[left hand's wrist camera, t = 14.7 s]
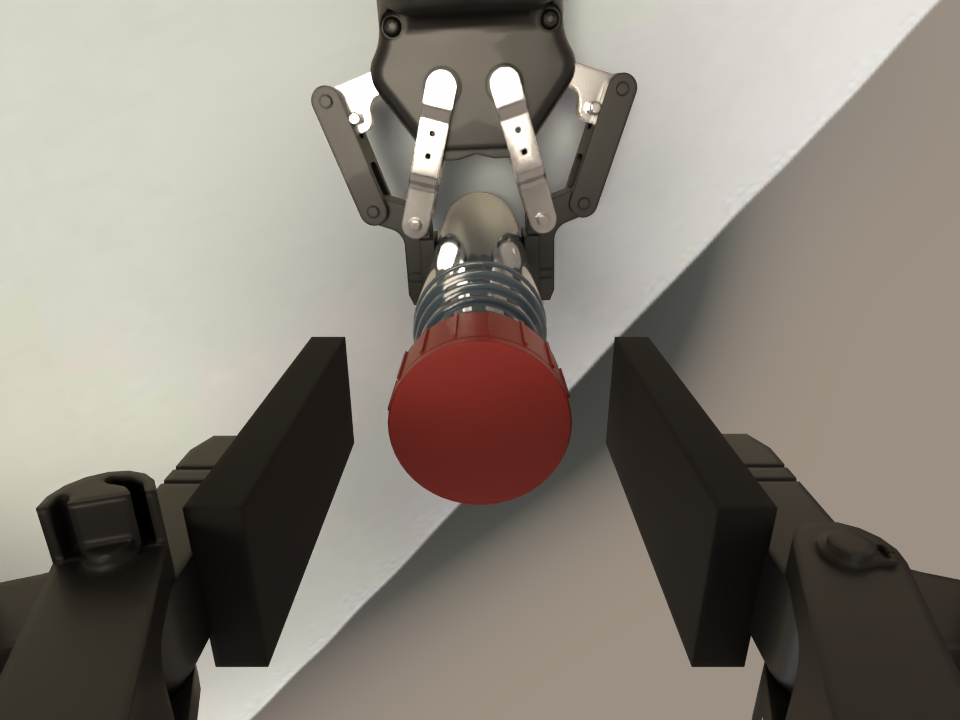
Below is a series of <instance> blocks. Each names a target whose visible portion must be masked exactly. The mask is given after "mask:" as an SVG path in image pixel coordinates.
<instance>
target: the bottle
mask: <svg viewBox="0 0 960 720" xmlns="http://www.w3.org/2000/svg"><path fill="white" fill-rule="evenodd" d="M488 311H492V313H495V314H499V315H503V316H507V317H510V318H512V319H515V320H517V321H519V322H520V321H523V322H524V325H526V326H527V327H529V328H530V329H532V330H533V331H534V332H535V333H536V334H538V335H539V336H540V337H541V338H542V339H543V341H544V342H545V341H546V315H545V310H544V306H543V303H542V300H541V297H540V294H539V291H538V288H537V285H536V282H535V279H534V276H533V272H532V269H531V266H530V263H529V260H528V257H527V254H526V251H525V248H524V245H523V242H522V239H521V236H520V233H519V230H518V227H517V224H516V221H515V218H514V215H513V213H512V211H511V209H510V208H509V206H508V205H507V204H506V203H505V202H504V201H503V200H502V199H500V198H499V197H497V196H495V195H493V194H490V193H485V192H475V193H470V194H467V195H465V196H463V197H461V198H460V199H458V200H457V201H456V202H455V203H454V204H453V205H452V206H451V208H450V209H449V211H448V213H447V215H446V218H445V221H444V224H443V227H442V230H441V233H440V236H439V239H438V242H437V245H436V248H435V251H434V254H433V257H432V260H431V263H430V266H429V269H428V272H427V275H426V278H425V281H424V284H423V287H422V290H421V293H420V296H419V299H418V302H417V305H416V309H415V314H414V328H413V337H414V343H415V341H416V340H417V339H418V338H419V337H420V336H421V335H422V334H423V333H424V330H425V329H426V328H428V329H429V328H431V327H432V326H434V325H435V324H437V323H439V322H441V321H443V320H445V319H448V318H450V317H453V316H454V314H456V313H458V315H460V314H465V313H472V312H486V313H488Z"/></svg>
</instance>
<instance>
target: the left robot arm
mask: <svg viewBox="0 0 960 720" xmlns="http://www.w3.org/2000/svg"><path fill="white" fill-rule="evenodd" d="M353 444H354V435H353V424H352V412H351V400H350V388H349V377H348V365H347V353H346V341H345V337H311V339H310V340H309V341H308V343H307V344H306V345H305V347H304V348H303V349H302V351H301V352H300V353H299V355H298V356H297V357H296V359H295V360H294V361H293V362H292V364H291V365H290V366H289V368H288V369H287V370H286V372H285V373H284V374H283V376H282V377H281V378H280V380H279V381H278V382H277V384H276V385H275V386H274V388H273V389H272V390H271V392H270V393H269V394H268V395H267V397H266V398H265V399H264V401H263V402H262V403H261V405H260V406H259V407H258V409H257V410H256V411H255V413H254V414H253V415H252V417H251V418H250V419H249V421H248V422H247V423H246V425H245V426H244V427H243V428H242V430H241V431H240V432H239V434H238V435H237V436H213V437H211V438H209V439H208V440H206V441H204V442H203V443H201V444H200V445H198V446H196V447H195V448H193V449H191V450H190V451H189V452H188V453H187V454H186V456H185V457H184V458H183V459H182V460H181V461H180V463H179V464H178V465H177V466H176V470H173V471H172V472H171V473H170V474H169V475H168V476H167V478H166V479H165V480H164V484H161V485H160V486H159V487H158V488H157V489H156V486H155V481H154V480H153V479H152V478H150V477H149V476H148V475H146V474H144V473H139V472H133V471H117V472H107V473H102V474H98V475H93V476H89V477H86V478H83V479H80V480H78V481H75V482H73V483H70V484H68V485H65V486H64V487H62V488H60V489H59V490H57V491H55V492H54V493H52V494H50V495H49V496H47V497H46V498H45V499H44V500H43V502H42V503H41V504H40V505H39V506H38V507H37V508H36V511H37V514H38V517H39V520H40V523H41V527H42V530H43V533H44V536H45V539H46V542H47V546H48V549H49V552H50V555H51V558H52V562H53V565H52V567H51V569H50V571H49V572H48V573H44V574H41V575H36V576H31V577H26V578H21V579H16V580H11V581H6V582H1V583H0V720H197V717H198V708H199V699H200V690H201V688H200V682H199V676H198V671H197V667H196V662H197V660H198V659H199V657H200V655H201V653H202V651H203V649H204V647H205V645H206V643H207V641H208V639H209V637H210V642H211V647H212V651H213V656H214V661H215V666H216V667H268V666H269V663H270V661H271V658H272V656H273V653H274V650H275V648H276V645H277V642H278V640H279V637H280V635H281V632H282V629H283V627H284V624H285V622H286V619H287V616H288V614H289V611H290V609H291V606H292V603H293V601H294V598H295V596H296V593H297V590H298V588H299V585H300V583H301V580H302V577H303V575H304V572H305V570H306V567H307V564H308V562H309V559H310V557H311V554H312V551H313V549H314V546H315V543H316V541H317V538H318V536H319V533H320V530H321V528H322V525H323V523H324V520H325V517H326V515H327V512H328V510H329V507H330V504H331V502H332V499H333V497H334V494H335V491H336V489H337V486H338V484H339V481H340V478H341V476H342V473H343V471H344V468H345V465H346V463H347V460H348V458H349V455H350V452H351V450H352V447H353ZM606 444H607V447H608V450H609V452H610V455H611V457H612V460H613V463H614V465H615V468H616V470H617V473H618V476H619V478H620V481H621V484H622V486H623V489H624V491H625V494H626V497H627V499H628V502H629V504H630V507H631V510H632V512H633V515H634V517H635V520H636V523H637V525H638V528H639V530H640V533H641V536H642V538H643V541H644V543H645V546H646V549H647V551H648V554H649V557H650V559H651V562H652V564H653V567H654V570H655V572H656V575H657V577H658V580H659V583H660V585H661V588H662V590H663V593H664V595H665V598H666V601H667V603H668V606H669V609H670V611H671V614H672V616H673V619H674V622H675V624H676V627H677V629H678V632H679V635H680V637H681V640H682V642H683V645H684V648H685V650H686V653H687V656H688V658H689V661H690V663H691V666H692V667H744V666H745V661H746V656H747V651H748V647H749V642H750V637H751V636H752V638H753V640H754V642H755V644H756V646H757V648H758V649H759V651H760V653H761V655H762V657H763V659H764V661H765V662H764V667H763V671H762V676H761V680H760V684H759V689H758V693H757V698H756V702H755V707H754V711H753V716H752V720H762V717H763V720H960V580H958V579H953V578H948V577H943V576H938V575H933V574H928V573H923V572H918V571H915V570H911V569H910V568H909V566H908V564H907V562H906V561H905V559H904V558H903V557H902V556H901V554H900V553H899V552H898V551H897V549H895V548H894V547H892V546H891V545H890V544H888V543H887V542H886V541H884V540H883V539H881V538H880V537H878V536H876V535H873V534H871V533H869V532H867V531H865V530H862V529H860V528H857V527H853V526H849V525H845V524H842V523H838V522H834V521H833V520H832V518H831V517H830V516H829V515H828V514H827V513H826V512H825V510H824V509H823V508H822V507H821V506H820V505H819V504H818V502H817V501H816V500H815V499H814V498H813V497H812V496H811V494H810V493H809V492H808V491H807V490H806V489H805V488H804V486H803V485H802V484H801V483H800V482H797V481H796V477H795V476H794V475H793V474H792V473H791V471H790V470H789V469H788V468H785V467H784V463H783V462H782V461H781V460H780V459H779V458H778V457H777V455H776V454H775V453H774V452H773V451H772V450H771V448H769V447H768V446H766V445H764V444H763V443H761V442H759V441H758V440H756V439H754V438H752V437H751V436H749V435H748V434H721V432H720V431H719V430H718V428H717V427H716V426H715V425H714V423H713V422H712V421H711V419H710V418H709V417H708V415H707V414H706V413H705V411H704V410H703V409H702V407H701V406H700V405H699V403H698V402H697V401H696V399H695V398H694V397H693V395H692V394H691V393H690V392H689V390H688V389H687V388H686V386H685V385H684V384H683V382H682V381H681V380H680V378H679V377H678V376H677V374H676V373H675V372H674V370H673V369H672V368H671V366H670V365H669V364H668V363H667V361H666V360H665V359H664V357H663V356H662V355H661V353H660V352H659V351H658V349H657V348H656V347H655V345H654V344H653V343H652V341H651V340H650V339H649V337H615V341H614V354H613V365H612V377H611V388H610V400H609V412H608V424H607V435H606Z"/></svg>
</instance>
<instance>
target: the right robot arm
mask: <svg viewBox="0 0 960 720" xmlns="http://www.w3.org/2000/svg"><path fill="white" fill-rule="evenodd" d="M377 9H378V20H379V41H378V46H377V50H376V53H375V55H374V57H373V60H372V63H371V72H369V73H367V74H365V75H362V76H360V77H357V78H355V79H353V80H350V81H348V82H346V83H343V84H341V85H339V86H336V87H331V86H320V87H318V88H316V89H315V91H314V92H313V94H312V98H311V102H312V106H313V109H314V111H315V113H316V115H317V118H318V120H319V122H320V125H321V127H322V129H323V131H324V134H325V136H326V138H327V140H328V143H329V145H330V147H331V150H332V152H333V154H334V156H335V159H336V161H337V163H338V166H339V168H340V170H341V172H342V175H343V177H344V179H345V181H346V184H347V186H348V188H349V191H350V193H351V195H352V197H353V200H354V202H355V204H356V206H357V209H358V211H359V213H360V216H361V218H362V219H363V221H364V222H365V223H367V224H369V225H373V226H376V225H380V226H383V227H386V228H389V229H392V230H395V231H396V232H398V233H399V234H400V235H401V236H402V238H403V240H404V243H405V251H406V263H407V273H408V286H409V295H410V297H411V299H412V301H413V303H414V305H417V302H418V299H419V296H420V293H421V290H422V287H423V284H424V281H425V278H426V275H427V272H428V269H429V266H430V263H431V260H432V257H433V254H434V251H435V248H436V245H437V242H438V232H437V231H433V224H432V220H433V215H434V210H435V205H436V201H437V196H438V191H439V186H440V182H441V178H442V173H443V168H444V163H445V160H459V159H462V158H465V157H468V156H471V155H474V154H479V155H483V156H488V157H492V158H509V160H510V163H511V167H512V170H513V173H514V177H515V180H516V183H517V186H518V190H519V193H520V196H521V200H522V203H523V207H524V210H525V228H521V239H522V242H523V245H524V248H525V251H526V254H527V257H528V260H529V263H530V266H531V269H532V272H533V276H534V279H535V282H536V285H537V288H538V291H539V294H540V297H541V300H550V298H551V296H552V293H553V291H554V236H555V233H556V231H557V229H558V228H559V227H560V226H561V225H562V224H564V223H566V222H568V221H570V220H573V219H575V218H578V217H588V216H590V215H592V214H593V213H594V212H595V210H596V208H597V205H598V202H599V199H600V196H601V194H602V191H603V188H604V185H605V182H606V179H607V176H608V173H609V170H610V167H611V165H612V162H613V159H614V156H615V153H616V150H617V147H618V144H619V141H620V138H621V135H622V133H623V130H624V127H625V124H626V121H627V118H628V115H629V112H630V109H631V106H632V104H633V101H634V98H635V95H636V92H637V83H636V80H635V79H634V77H633V76H632V75H630V74H628V73H616V74H610V73H607V72H604V71H601V70H598V69H594V68H591V67H588V66H585V65H582V64H579V63H576V62H575V57H574V53H573V51H572V49H571V47H570V45H569V43H568V41H567V38H566V35H565V31H564V26H563V0H377ZM567 87H569V88H570V89H571V90H573V92H574V93H575V96H576V115H577V117H578V118H579V119H580V120H581V121H583V122H585V123H586V126H585V129H584V132H583V135H582V138H581V141H580V144H579V147H578V151H577V154H576V157H575V160H574V163H573V166H572V169H571V172H570V175H569V178H568V182H567V185H566V188H565V189H562V190H560V191H557V192H555V193H553V194H550V191H549V187H548V184H547V180H546V175H545V170H544V166H543V163H542V159H541V155H540V152H539V148H538V144H537V141H536V137H535V136H536V135H537V133H538V132H539V130H540V129H541V127H542V126H543V124H544V123H545V121H546V119H547V118H548V116H549V115H550V113H551V112H552V110H553V109H554V107H555V106H556V104H557V103H558V101H559V100H560V98H561V97H562V95H563V93H564V92H565V90H566V89H567ZM379 96H381V97H382V99H383V100H384V101H385V102H386V104H387V105H388V106H389V108H390V109H391V110H392V111H393V113H394V114H395V115H396V117H397V118H398V119H399V120H400V122H401V123H402V124H403V125H404V127H405V128H406V129H407V131H408V132H409V133H410V134H411V136H412V137H413V138H414V140H415V141H416V144H415V149H414V155H413V160H412V165H411V171H410V177H409V187H408V192H407V198H406V200H403V199H400V198H397V197H393V196H391V193H390V191H389V188H388V186H387V184H386V181H385V179H384V176H383V174H382V172H381V169H380V167H379V164H378V162H377V160H376V157H375V155H374V152H373V150H372V148H371V145H370V143H369V140H368V138H367V136H366V132H368V131H369V130H371V129H372V127H373V125H374V122H375V117H374V113H373V105H374V102H375V100H376V99H377V98H378V97H379Z"/></svg>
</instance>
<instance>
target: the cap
mask: <svg viewBox="0 0 960 720" xmlns="http://www.w3.org/2000/svg"><path fill="white" fill-rule="evenodd" d="M397 379H398V380H396V383H395V386H394V390H393V393H392V396H391V399H390V402H389V406H388V411H389V415H388V430H389V437H390V441H391V445H392V448H393V450H394V453H395V455H396V457H397V459H398V460H399V462H400V464H401V465H402V467H403V468H404V469H405V471H406V472H407V473H408V474H409V475H410V476H411V477H412V478H413V479H414V480H415V481H416V482H417V483H418V484H420V485H421V486H422V487H424V488H425V489H427V490H428V491H430V492H432V493H434V494H436V495H438V496H440V497H442V498H445V499H448V500H451V501H455V502H459V503H464V504H474V505H486V504H495V503H500V502H505V501H509V500H512V499H514V498H517V497H520V496H522V495H524V494H526V493H528V492H530V491H531V490H533V489H534V488H536V487H537V486H539V485H540V484H541V483H542V482H544V481H545V480H546V479H547V478H548V477H549V476H550V475H551V474H552V473H553V471H554V470H555V469H556V467H557V466H558V464H559V463H560V462H561V460H562V458H563V456H564V454H565V452H566V449H567V446H568V444H569V440H570V435H571V424H572V419H571V410H570V406H569V402H568V398H569V397H570V395H569V392H568V388H567V385H566V382H565V379H564V376H563V373H562V370H561V368H559V369H558V366H557V363H556V361H555V358H554V356H553V354H552V352H551V350H550V347H549V343H548V342H547V341H545V342H544V341H543V339H542V338H541V337H540V336H539V335H538V334H536V333H535V332H534V331H533V330H532V329H530V328H529V327H527V326H526V325H524V322H523V321H520V322H519V321H517V320H515V319H512V318H510V317H507V316H503V315H499V314H495V313H492V311H488V313H486V312H472V313H465V314H460V315H458V313H456V314H454V316H453V317H450V318H448V319H445V320H443V321H441V322H439V323H437V324H435V325H434V326H432V327H431V328H429V329H428V328H426V329H425V330H424V333H423V334H422V335H421V336H420V337H419V338H418V339H417V340H416V341H415V343H414V344H413V345H412V347H411V348H410V350H409V352H407V351H406V352H405V354H404V357H403V360H402V363H401V366H400V369H399V372H398V375H397Z"/></svg>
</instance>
